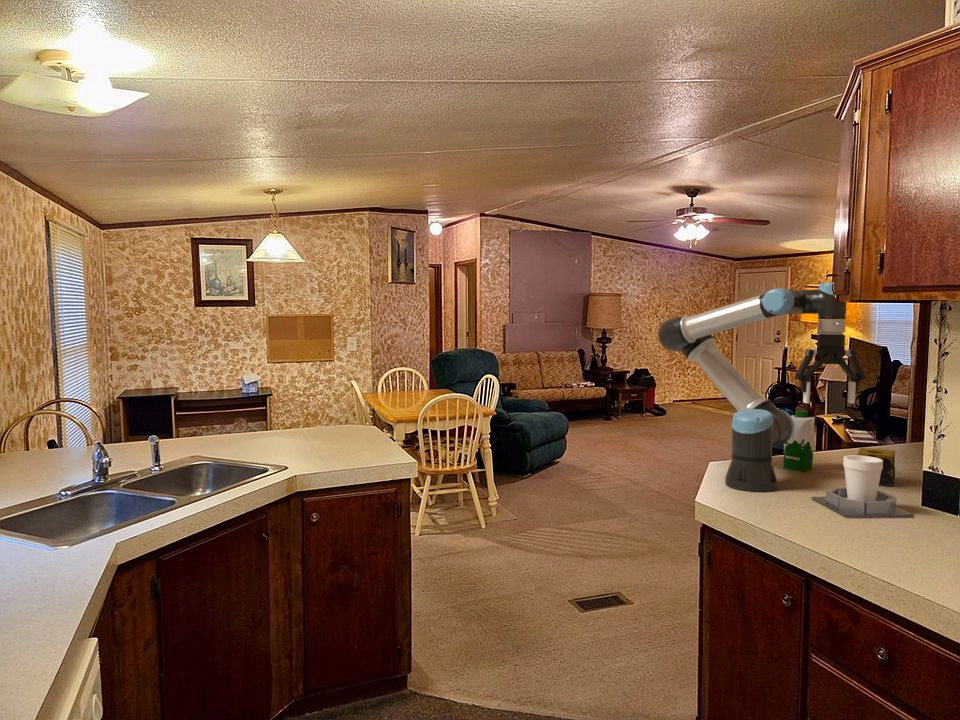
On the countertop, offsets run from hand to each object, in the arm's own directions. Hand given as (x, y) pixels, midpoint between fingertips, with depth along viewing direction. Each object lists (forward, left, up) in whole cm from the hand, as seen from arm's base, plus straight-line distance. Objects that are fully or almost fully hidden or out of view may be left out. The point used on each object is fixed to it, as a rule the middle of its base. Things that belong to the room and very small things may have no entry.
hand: (828, 403), depth 208 cm
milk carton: (+4, +27, -27) cm, 38 cm away
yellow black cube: (+20, +8, -27) cm, 34 cm away
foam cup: (-1, -21, -26) cm, 34 cm away
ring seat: (-2, -21, -27) cm, 34 cm away
